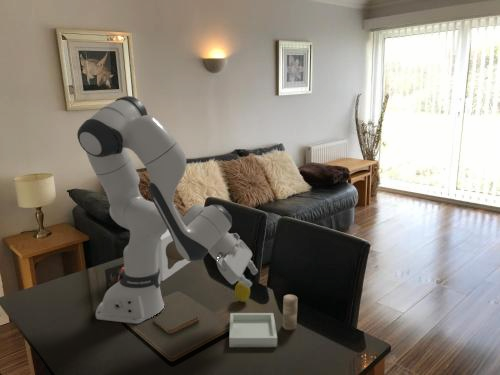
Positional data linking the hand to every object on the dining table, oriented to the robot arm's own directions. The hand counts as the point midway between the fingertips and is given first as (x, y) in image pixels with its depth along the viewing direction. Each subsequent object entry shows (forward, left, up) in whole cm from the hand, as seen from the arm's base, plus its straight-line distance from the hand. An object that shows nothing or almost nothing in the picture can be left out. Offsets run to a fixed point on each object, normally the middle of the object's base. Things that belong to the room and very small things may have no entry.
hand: (253, 279), depth 129 cm
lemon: (-3, +14, -15) cm, 21 cm away
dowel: (+12, -2, -15) cm, 19 cm away
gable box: (-36, +43, -15) cm, 58 cm away
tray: (0, -6, -15) cm, 16 cm away
